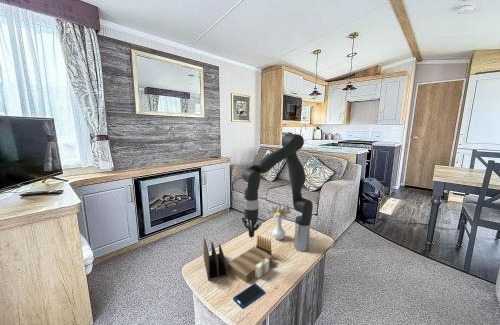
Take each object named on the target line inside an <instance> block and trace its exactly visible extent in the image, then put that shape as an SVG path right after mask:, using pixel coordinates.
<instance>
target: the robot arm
mask: <svg viewBox="0 0 500 325" xmlns="http://www.w3.org/2000/svg"><path fill="white" fill-rule="evenodd" d="M281 143H282V147H281V148H279V149H278V150H275V151H273V152H270V153H268V154H267V155H266V156H263V157H262V159H260V160H259V161H257V163H255V164H253V165H250V166H249V167H246V168H245V170H244V171H243V172H242V176H241V177H242V180H243V181H244V182H246V183H247V187H245V188H244V200H243V206H244V207H243V208H244V210H243V212H244V213H243V215H244V217H242V218H241V221H242V223H243V225H244V227H245V228H246V229H247V231H248V237H249V238H254V237H255V231H258V230H259V228H260V227H261V226H262V224H263V223H261V222H260V221H259V218H258V216H259V189H260V188H259V187H260V183H261V174H266V173H268V172H269V171H270V170H271V169H272V168H274V167H275V166H276V165H278V164H279V163H280V162H282V161H283V160H285V159H286V163H287V169H288V174H289V180H290V186H291V194H292V204H293V205H292V206H293V209H294V210H295V211H297V213H298V212H299V213H301V215H297V216H296V218H295V219H294V220H295V224H294V245H293V247H294V249H295V250H296V251H297V252H307V251H309V250H310V249H309V248H310V235H311V233H310V232H311V221H312V216H313V209H314V206H313V205H314V204H313V201H312V200H311V199H308V198H305V197H303V195H302V189H303V187H304V186H305V183H306V182H307V181H306V180H307V179H306V173H305V168H304V166H303V164H302V162H301V160H300V159H299V157H298V155H297V152H298V151H300V150H301V149H302V148H303V146H304V143H305V140H304V137H303V136H302V135H301V134H299V133H298V134H297V133H286V134H284V135H283V137H282V139H281Z"/></svg>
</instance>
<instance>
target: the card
mask: <svg viewBox="0 0 500 325" xmlns="http://www.w3.org/2000/svg"><path fill="white" fill-rule="evenodd" d="M268 271H270V269H269V260H268V259H266V258H265V259H264V260H262V261H261V262H260V263H258V264H257V265H256V266H255V276H254V277H255V278H257V279H260V278H261V277H263V275H265V274H266V273H268Z"/></svg>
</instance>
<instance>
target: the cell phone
mask: <svg viewBox="0 0 500 325" xmlns="http://www.w3.org/2000/svg"><path fill="white" fill-rule="evenodd" d="M265 293H266V292H265V290H264V289H263V288H262V287H261V286H259V285H258V284H257V283H253V284H251V285H250V286H248V287H246V288H245V289H244V290H242V291H241V292H239V293H237V294H236V295H235V296H233V297H232V299H233V301H234V302H235V303H236V304H237V305H238V306H239V307H240V308H241V309H245V308H247V307H248V306H249V305H251V304H252V303H253V302H254V301H257V300H258V299H259V298H260V297H262V296H263V295H264V294H265Z"/></svg>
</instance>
